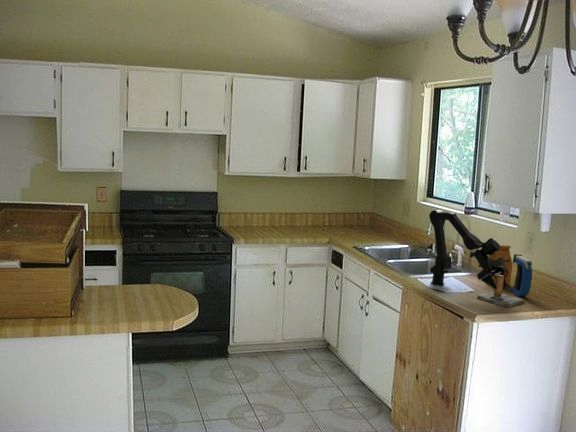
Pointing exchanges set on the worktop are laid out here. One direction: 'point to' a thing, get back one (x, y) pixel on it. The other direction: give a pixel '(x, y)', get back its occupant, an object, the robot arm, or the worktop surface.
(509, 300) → the grey square tile
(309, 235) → the worktop surface
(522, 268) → the blue curved piece
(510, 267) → the coffee package
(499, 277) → the wooden block
